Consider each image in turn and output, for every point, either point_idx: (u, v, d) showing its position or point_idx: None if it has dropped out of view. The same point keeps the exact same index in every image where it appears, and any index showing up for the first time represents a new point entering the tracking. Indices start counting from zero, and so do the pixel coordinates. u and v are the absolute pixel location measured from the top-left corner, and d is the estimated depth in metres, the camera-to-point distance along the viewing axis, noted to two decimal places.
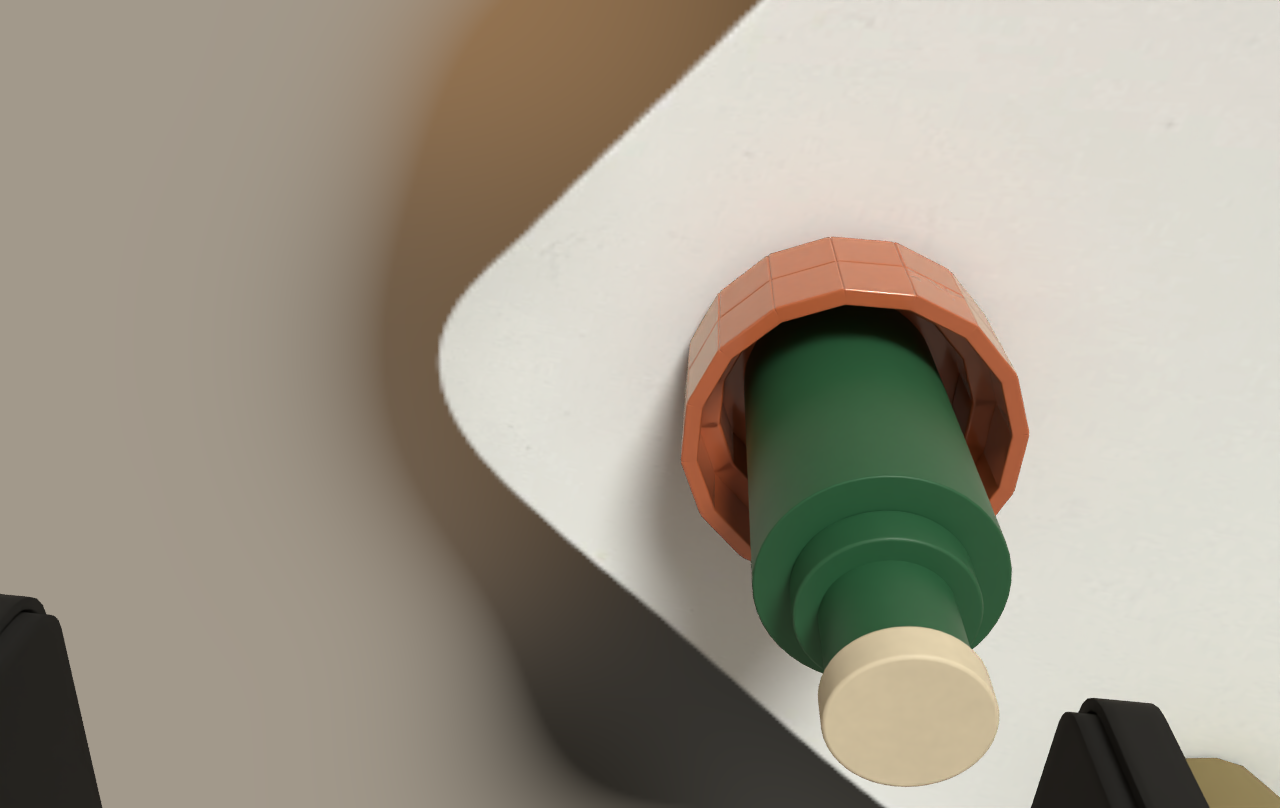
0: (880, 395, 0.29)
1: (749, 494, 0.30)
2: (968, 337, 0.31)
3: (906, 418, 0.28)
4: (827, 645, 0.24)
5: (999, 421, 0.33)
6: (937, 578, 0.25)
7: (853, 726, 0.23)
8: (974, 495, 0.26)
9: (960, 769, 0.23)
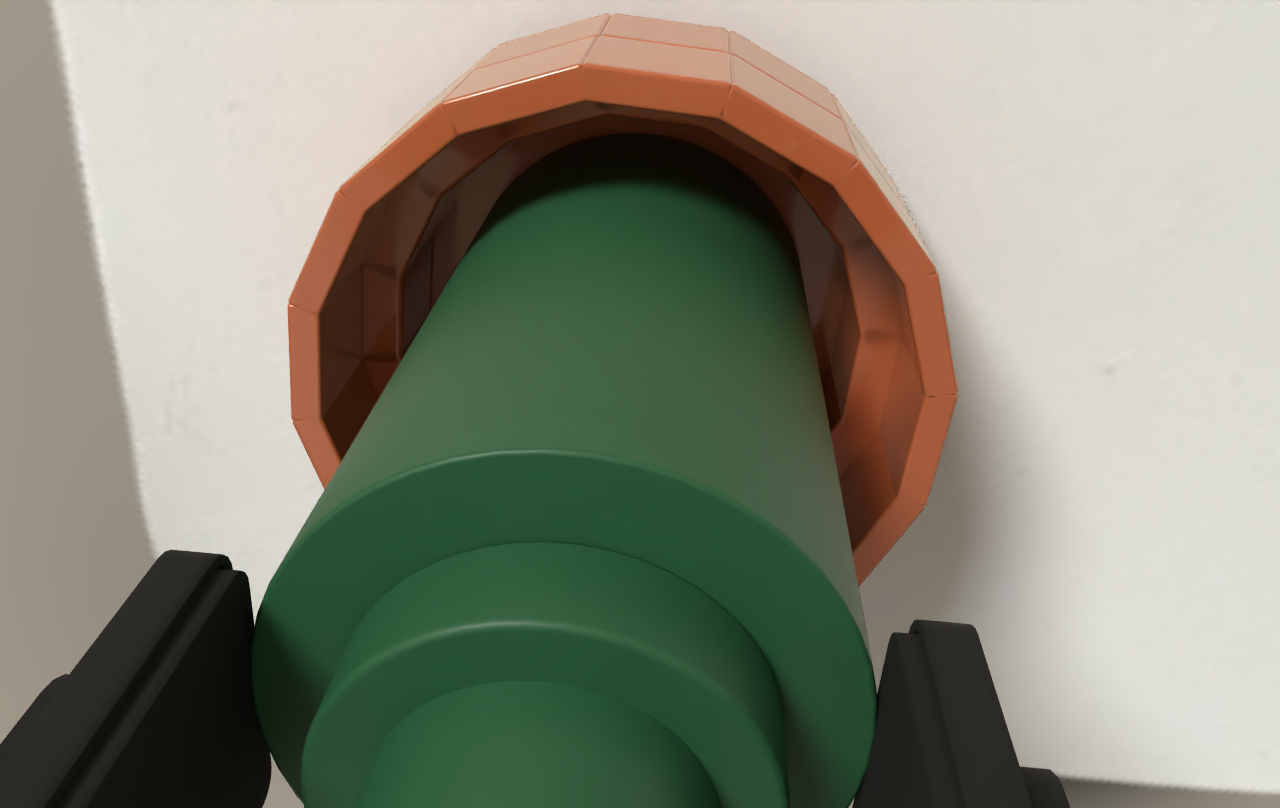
0: (439, 324, 0.14)
1: None
2: (586, 95, 0.15)
3: (455, 340, 0.12)
4: None
5: None
6: (514, 696, 0.09)
7: None
8: (543, 424, 0.10)
9: None
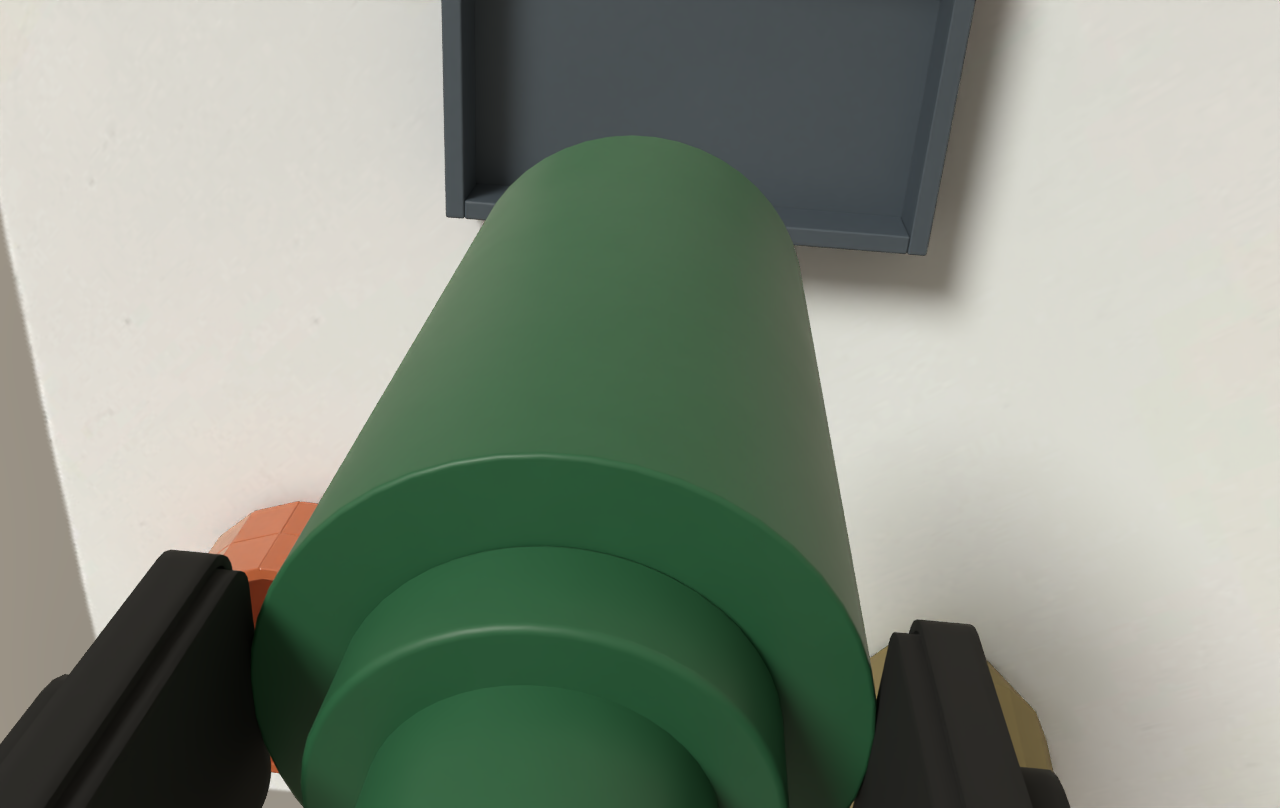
0: (438, 327, 0.14)
1: None
2: (261, 577, 0.39)
3: (454, 344, 0.12)
4: None
5: None
6: (513, 700, 0.09)
7: None
8: (543, 428, 0.10)
9: None
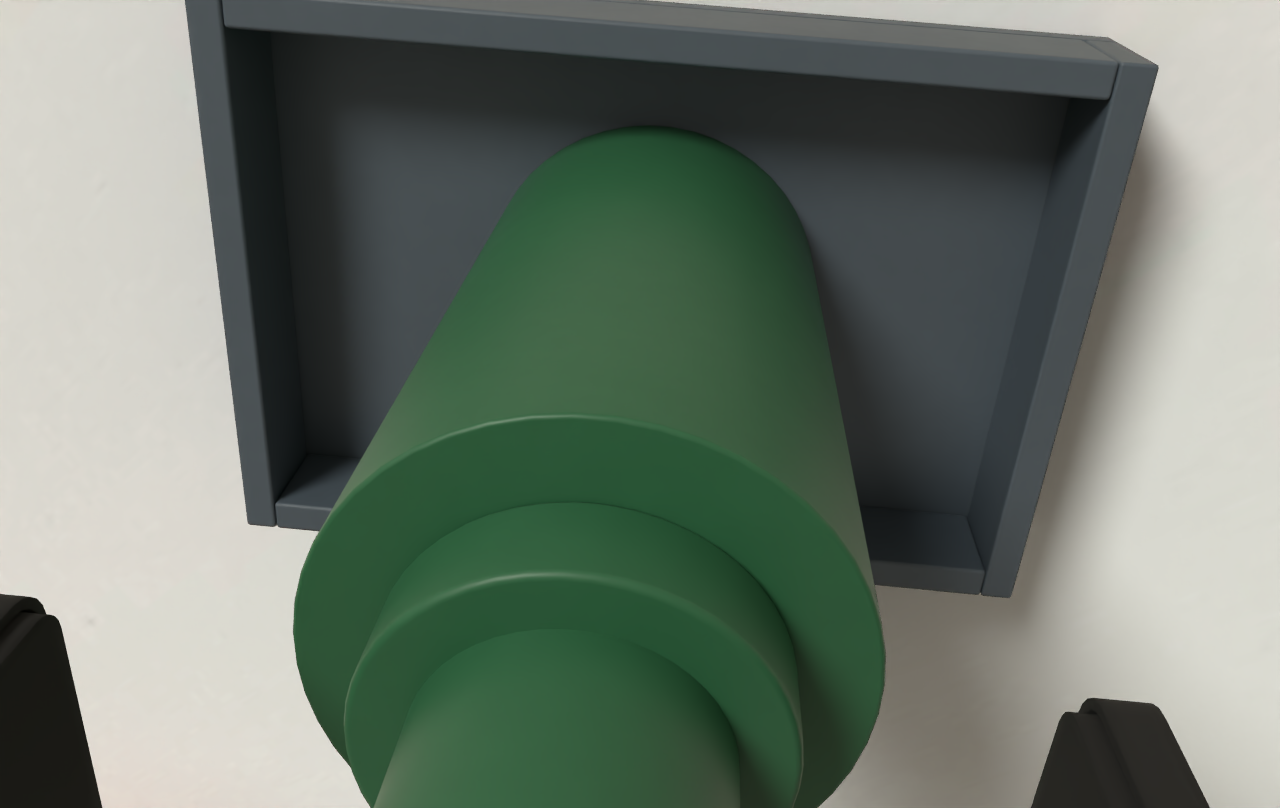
0: (467, 304, 0.14)
1: None
2: None
3: (484, 318, 0.13)
4: None
5: None
6: (546, 642, 0.10)
7: None
8: (573, 392, 0.11)
9: None
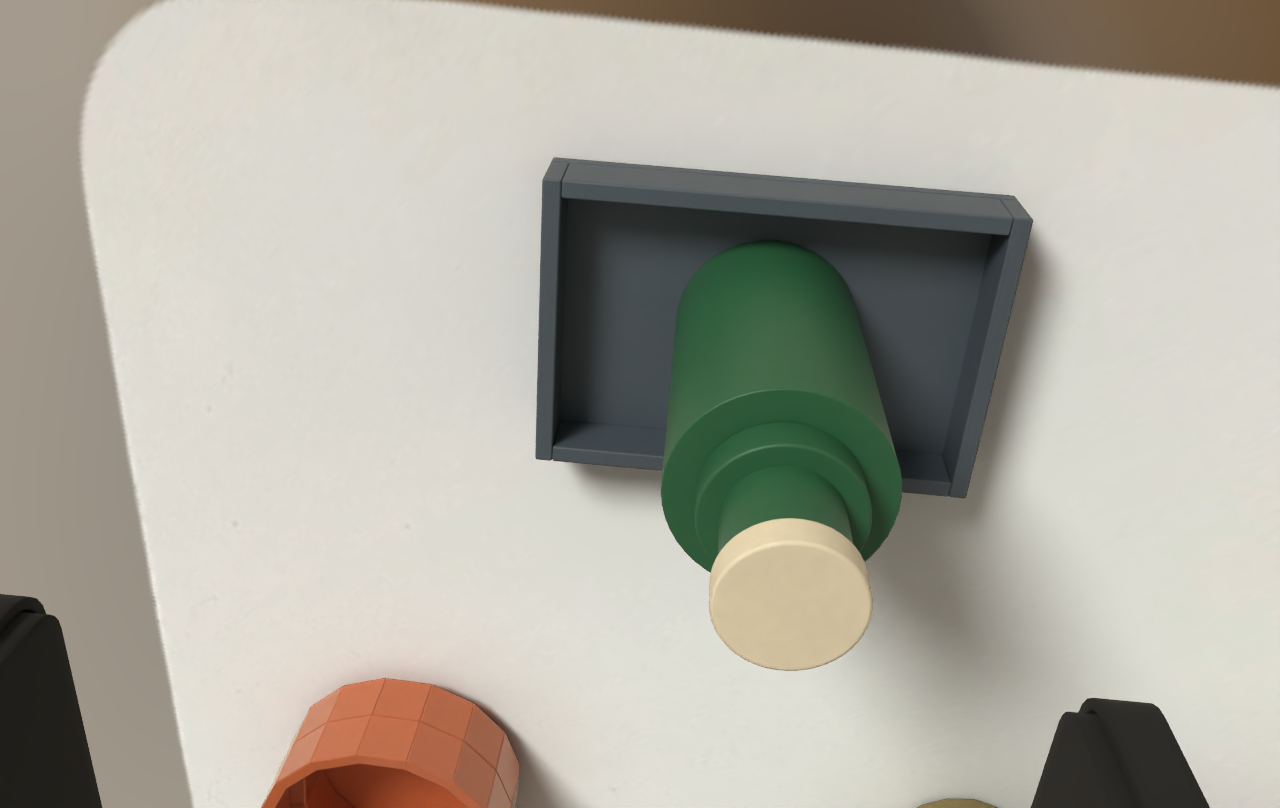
0: (710, 342, 0.31)
1: None
2: (358, 762, 0.43)
3: (727, 349, 0.30)
4: None
5: None
6: (781, 470, 0.27)
7: (753, 638, 0.25)
8: (783, 380, 0.28)
9: (865, 615, 0.24)
